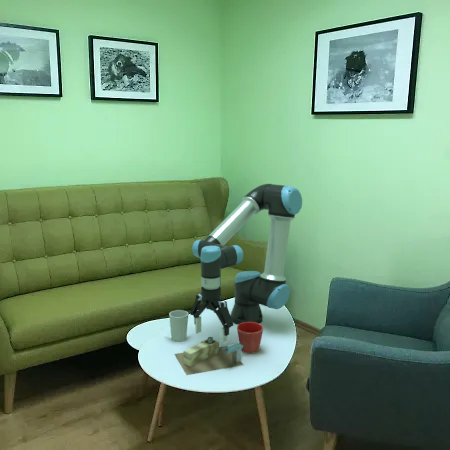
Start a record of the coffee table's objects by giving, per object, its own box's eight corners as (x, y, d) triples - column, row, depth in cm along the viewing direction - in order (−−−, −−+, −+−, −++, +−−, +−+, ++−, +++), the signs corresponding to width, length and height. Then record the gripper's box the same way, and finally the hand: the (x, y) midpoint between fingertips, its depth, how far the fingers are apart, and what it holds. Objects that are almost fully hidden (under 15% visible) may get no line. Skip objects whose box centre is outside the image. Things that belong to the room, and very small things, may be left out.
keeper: (221, 365, 175) (222, 348, 174) (236, 359, 180) (237, 342, 179) (227, 368, 173) (227, 351, 172) (242, 362, 178) (243, 345, 177)
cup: (185, 345, 193) (185, 318, 191) (166, 343, 195) (166, 316, 192) (190, 337, 201) (190, 311, 198) (172, 335, 202) (172, 309, 200)
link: (191, 367, 174) (191, 354, 173) (182, 362, 177) (182, 350, 176) (218, 353, 185) (218, 341, 184) (209, 349, 188) (209, 337, 187)
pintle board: (227, 347, 192) (227, 345, 192) (244, 367, 176) (244, 364, 176) (174, 356, 184) (174, 353, 184) (186, 377, 168) (186, 375, 168)
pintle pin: (211, 351, 186) (211, 336, 185) (213, 353, 184) (213, 338, 183) (206, 352, 185) (207, 337, 184) (208, 354, 184) (208, 339, 182)
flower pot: (232, 352, 188) (233, 329, 186) (241, 341, 198) (242, 319, 196) (257, 357, 184) (258, 334, 182) (265, 345, 194) (266, 324, 192)
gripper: (180, 282, 184) (181, 331, 189) (230, 296, 169) (230, 350, 173) (193, 277, 190) (194, 325, 194) (242, 290, 174) (242, 343, 179)
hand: (211, 337), depth 184 cm, fingers open, 13 cm apart
